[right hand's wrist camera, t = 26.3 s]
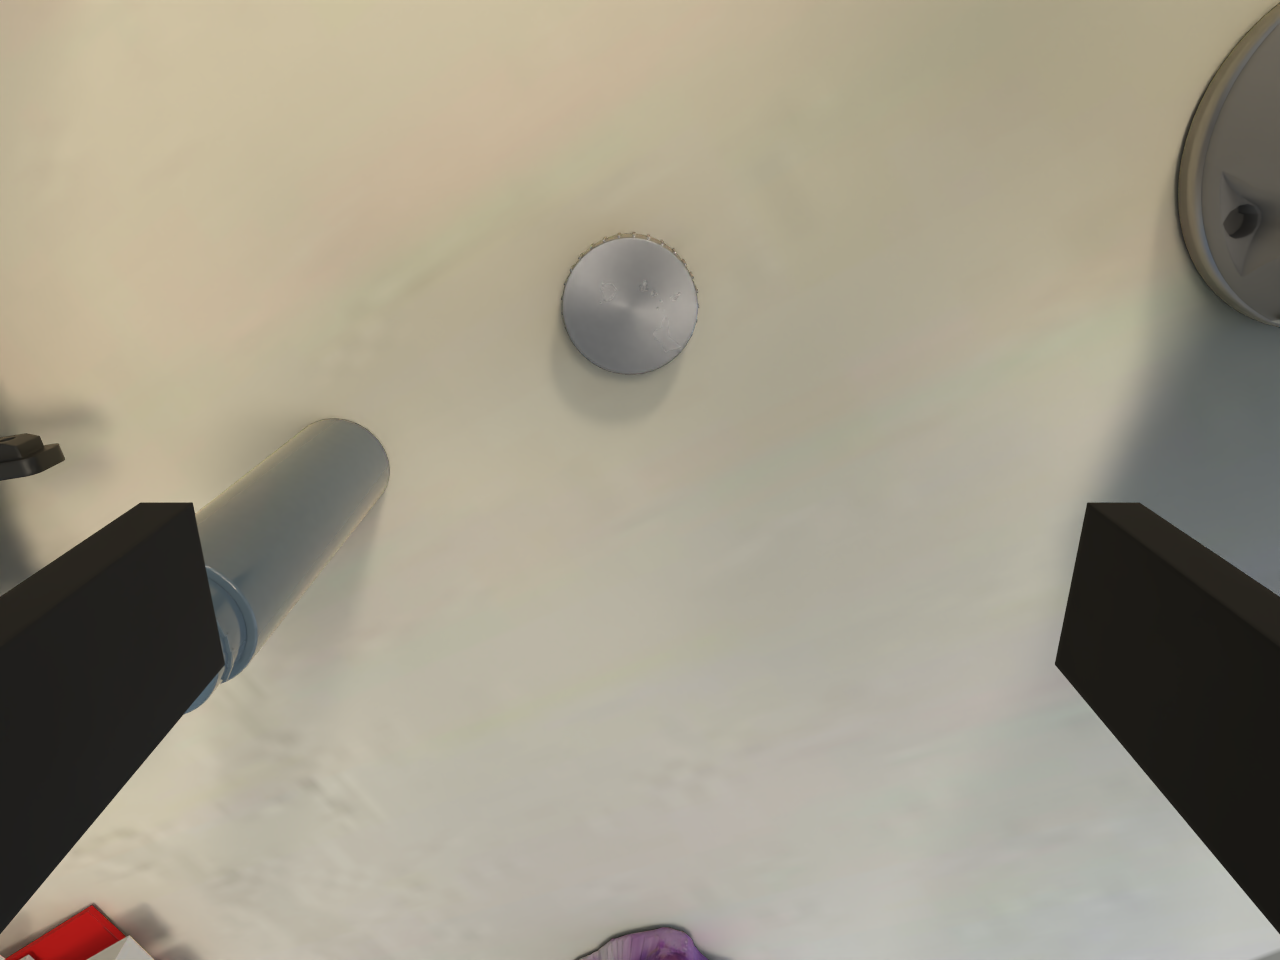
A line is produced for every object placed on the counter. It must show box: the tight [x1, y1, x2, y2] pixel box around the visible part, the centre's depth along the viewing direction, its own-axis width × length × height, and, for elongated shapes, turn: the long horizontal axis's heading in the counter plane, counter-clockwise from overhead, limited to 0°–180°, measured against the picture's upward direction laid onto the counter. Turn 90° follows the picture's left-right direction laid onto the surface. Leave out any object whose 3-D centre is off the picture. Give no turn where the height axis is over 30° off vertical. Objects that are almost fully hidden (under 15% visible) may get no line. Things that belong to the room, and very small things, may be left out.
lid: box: [561, 232, 699, 374], centre depth 38 cm, size 6×6×2 cm
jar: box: [184, 419, 389, 714], centre depth 34 cm, size 5×5×18 cm
